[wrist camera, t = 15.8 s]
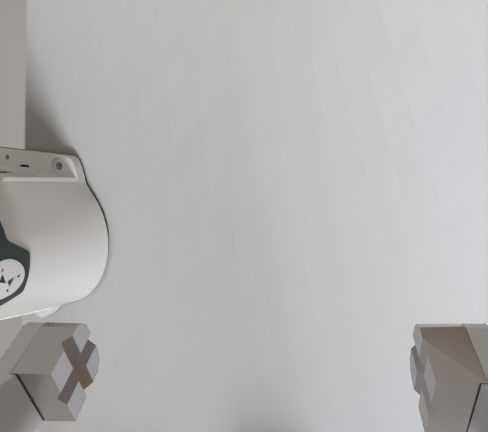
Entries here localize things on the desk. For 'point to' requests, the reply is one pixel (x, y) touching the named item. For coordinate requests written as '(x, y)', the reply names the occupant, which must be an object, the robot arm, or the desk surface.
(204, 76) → the desk surface
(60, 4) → the desk surface
